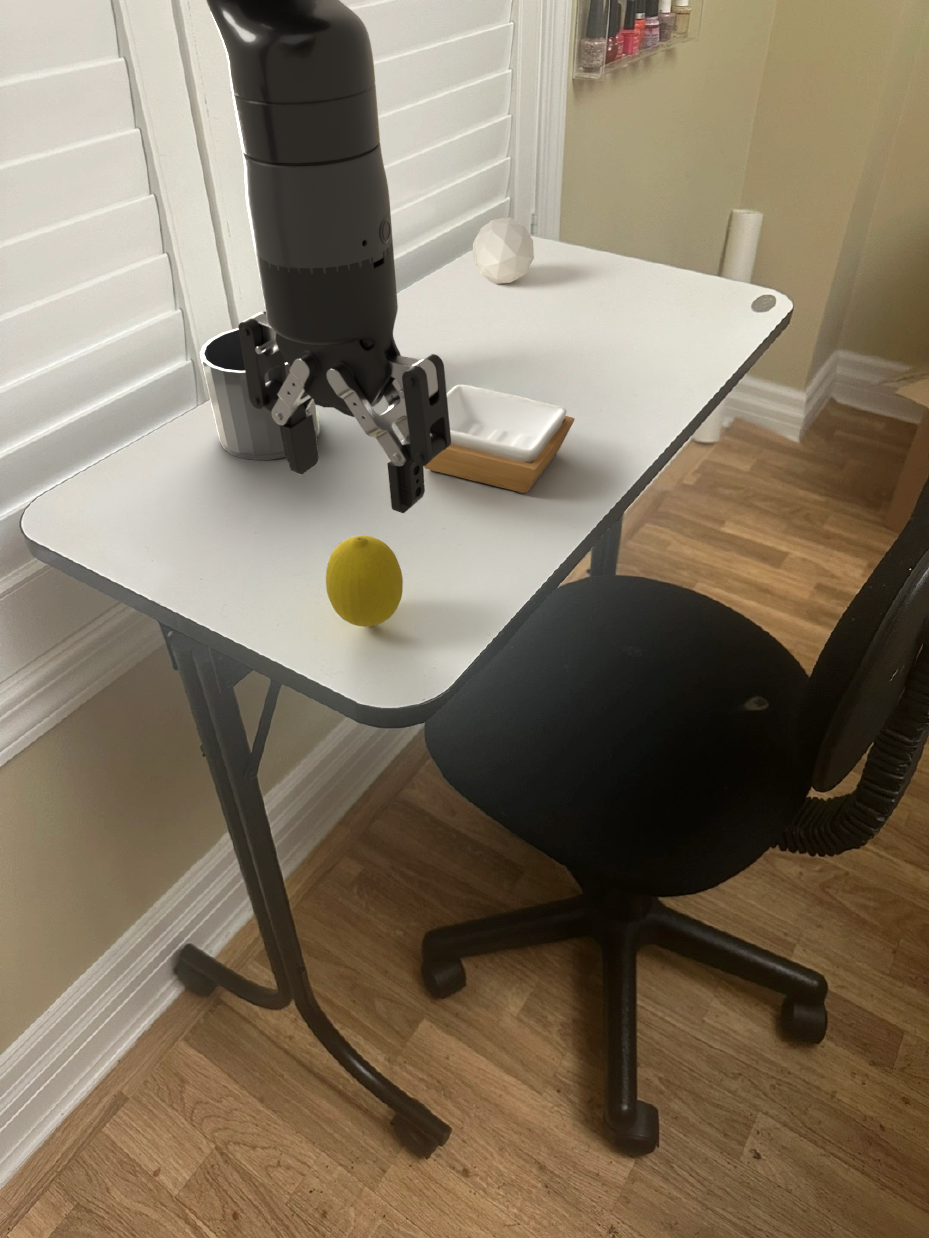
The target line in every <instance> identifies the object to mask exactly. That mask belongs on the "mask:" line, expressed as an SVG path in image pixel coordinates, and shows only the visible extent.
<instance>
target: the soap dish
mask: <svg viewBox="0 0 929 1238" xmlns="http://www.w3.org/2000/svg"><path fill="white" fill-rule="evenodd" d="M447 403H448V413H449V424H450V434H451V445H450V446H449V447H448V448H446V449H445V450H444V451H442V452H441V453H439V454H438V455H437V456H436V457H434V458H433V459H432V460H431V461H430V462H429V463H428V464H427V465H425V466H423V469H424V470H425V469H426V470H429V471H430V472H438V473H441V474H445V475H449V476H453V477H458V478H461V479H466V480H468V481H469V480H470V481H473V482H476V483H477V482H478V483H482V484H486V485H489V486H494V487H497V488H502V489H506V490H510V491H514V492H517V493H518V494H519V495H524V494H527V493H528V492H529V491H530V489H532V487H533V486H534V484H535V483H536V482H537V480H538V479H539V477H541V475H542V474H543V473H544V471H545V470H546V469H547V467H548V466H549V464H550V463H551V462H552V460H553V459H554V458H555V457H556V456H557V455H558V452H559V450H560V449H561V448H562V446H563V443H564V441H565V440H566V437H567V436H568V433H570V430H571V429H572V426H573V424H574V422H575V419H576V418H575V417H572V416H569V415H567V409H566V408H565V407H562V406H559V405H556V404H552V403H548V402H545V401H544V402H543V401H539V400H535V399H532V398H526V397H523V396H519V395H514V394H510V393H506V392H501V391H496V390H492V389H488V388H483V387H478V386H474V385H473V386H472V385H469V384H468V385H467V384H457V385H455V386H454V387H452V388H450V390H449V391H448V392H447Z"/></svg>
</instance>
